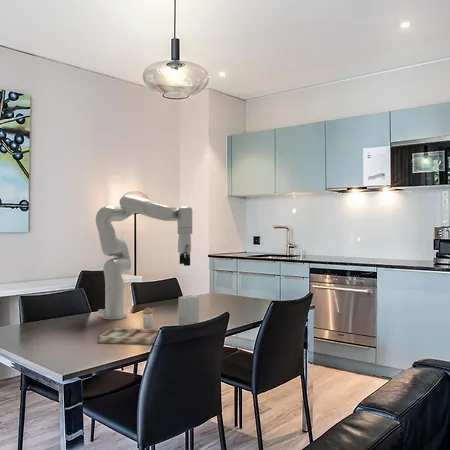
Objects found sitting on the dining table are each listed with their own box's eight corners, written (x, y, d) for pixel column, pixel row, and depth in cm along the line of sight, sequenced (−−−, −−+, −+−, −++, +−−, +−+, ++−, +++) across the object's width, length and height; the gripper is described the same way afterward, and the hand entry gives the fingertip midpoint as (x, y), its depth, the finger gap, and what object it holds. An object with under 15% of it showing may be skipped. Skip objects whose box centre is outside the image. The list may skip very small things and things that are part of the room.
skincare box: (189, 326, 227) (189, 294, 226) (199, 328, 222) (199, 296, 222) (177, 329, 220) (177, 296, 220) (187, 331, 216) (187, 298, 216)
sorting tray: (97, 342, 196) (97, 336, 196) (111, 333, 212) (111, 328, 212) (152, 344, 193) (152, 338, 193) (162, 335, 209) (162, 329, 209)
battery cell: (141, 332, 215) (141, 308, 215) (144, 329, 219) (144, 307, 219) (151, 332, 214) (151, 309, 214) (154, 330, 219) (154, 307, 218)
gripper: (174, 230, 241) (174, 263, 241) (181, 231, 225) (181, 266, 225) (188, 230, 243) (188, 263, 244) (196, 231, 227) (196, 266, 227)
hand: (184, 264), depth 234 cm, fingers open, 9 cm apart
